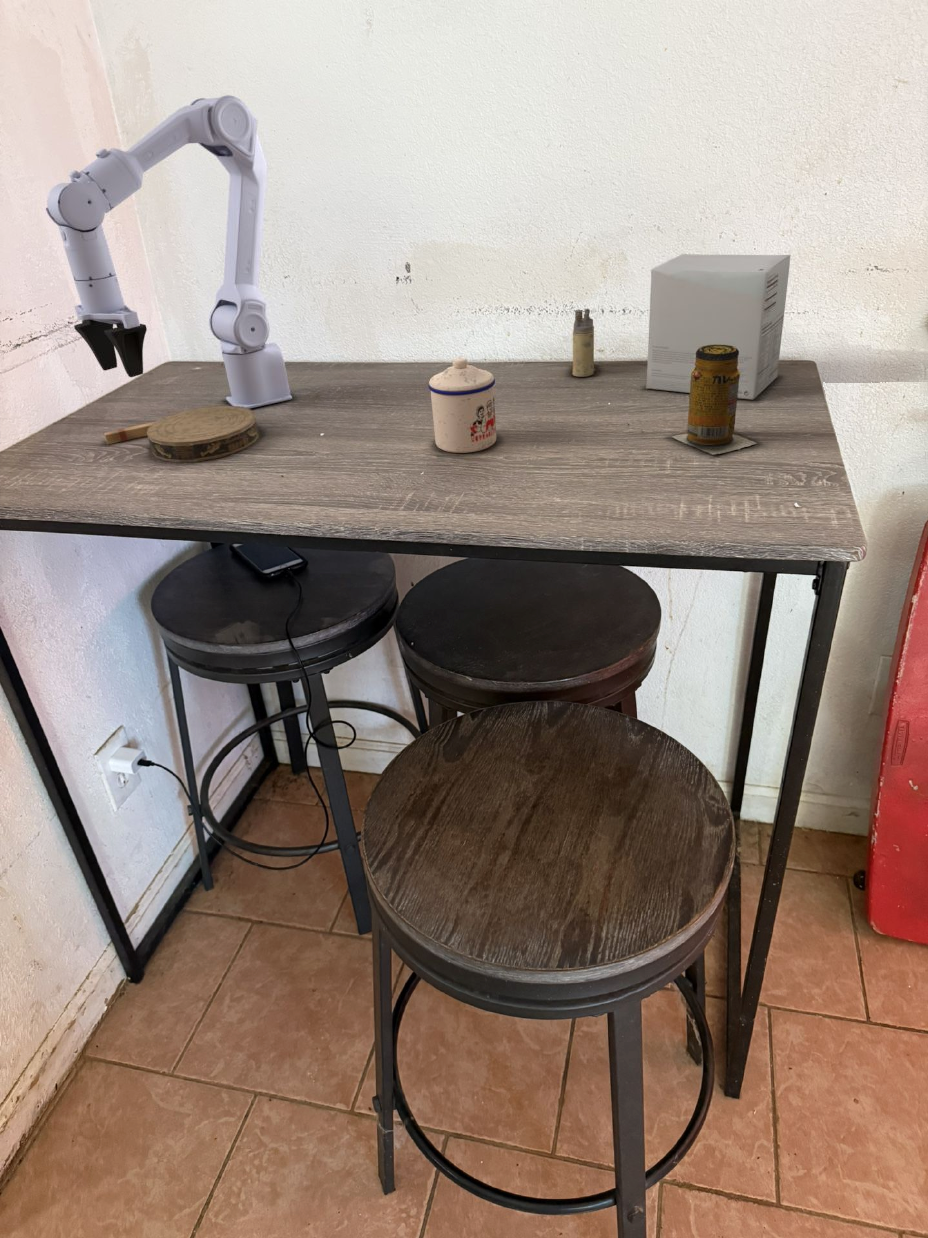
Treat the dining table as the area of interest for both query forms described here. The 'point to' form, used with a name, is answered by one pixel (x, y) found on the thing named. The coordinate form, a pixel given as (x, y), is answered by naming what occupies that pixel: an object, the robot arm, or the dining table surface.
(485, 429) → the teacup with lid
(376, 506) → the dining table surface
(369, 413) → the dining table surface
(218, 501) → the dining table surface
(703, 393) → the condiment
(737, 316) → the supplement box
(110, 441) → the rail
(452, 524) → the dining table surface
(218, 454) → the tin can
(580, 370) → the lighter
